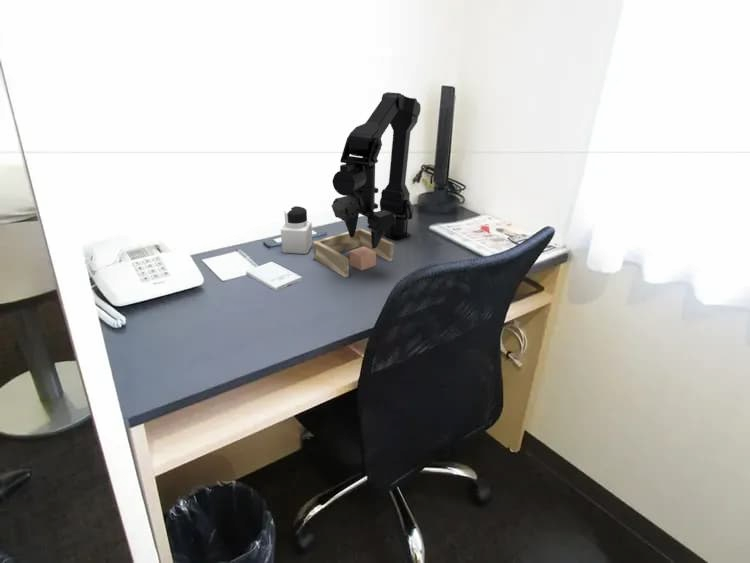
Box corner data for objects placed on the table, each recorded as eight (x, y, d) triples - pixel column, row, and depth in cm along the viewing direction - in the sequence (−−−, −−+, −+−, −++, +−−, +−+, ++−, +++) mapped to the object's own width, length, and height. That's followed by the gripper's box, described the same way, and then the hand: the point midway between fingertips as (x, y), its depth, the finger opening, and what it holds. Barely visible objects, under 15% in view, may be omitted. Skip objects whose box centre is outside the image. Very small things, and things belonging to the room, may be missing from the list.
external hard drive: (272, 266, 128) (302, 281, 120) (246, 276, 123) (276, 293, 115) (272, 261, 127) (302, 276, 120) (245, 270, 122) (275, 287, 114)
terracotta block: (363, 259, 132) (363, 246, 130) (375, 265, 128) (376, 252, 127) (349, 264, 129) (349, 250, 127) (361, 271, 126) (361, 257, 124)
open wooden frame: (360, 243, 141) (360, 227, 138) (392, 260, 131) (393, 243, 129) (313, 258, 131) (312, 241, 129) (344, 277, 122) (344, 259, 119)
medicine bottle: (312, 244, 140) (311, 204, 134) (307, 254, 134) (305, 213, 128) (288, 242, 140) (286, 203, 135) (282, 253, 134) (279, 212, 128)
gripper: (314, 181, 120) (317, 238, 127) (361, 200, 107) (361, 263, 115) (350, 173, 126) (350, 229, 134) (398, 191, 114) (395, 251, 121)
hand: (362, 242), depth 126 cm, fingers open, 9 cm apart
